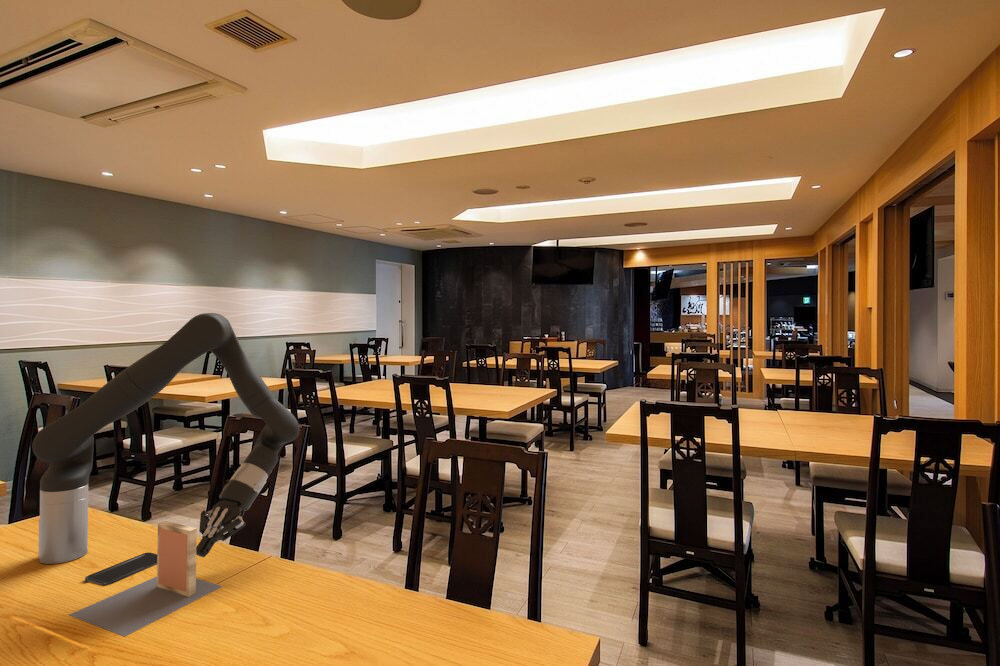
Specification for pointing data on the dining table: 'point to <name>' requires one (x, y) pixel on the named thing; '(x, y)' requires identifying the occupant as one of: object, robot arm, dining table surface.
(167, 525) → the placard
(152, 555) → the phone
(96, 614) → the mat
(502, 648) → the dining table surface
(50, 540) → the robot arm
